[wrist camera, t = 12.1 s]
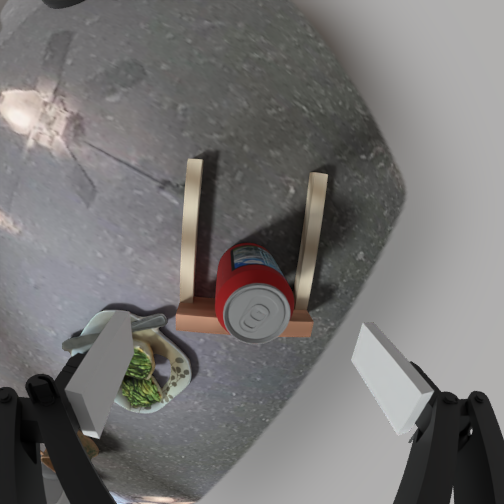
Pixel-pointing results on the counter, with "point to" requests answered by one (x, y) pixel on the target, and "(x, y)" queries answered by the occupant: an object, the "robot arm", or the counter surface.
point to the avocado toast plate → (140, 361)
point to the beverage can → (252, 295)
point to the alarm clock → (53, 487)
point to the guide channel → (203, 309)
